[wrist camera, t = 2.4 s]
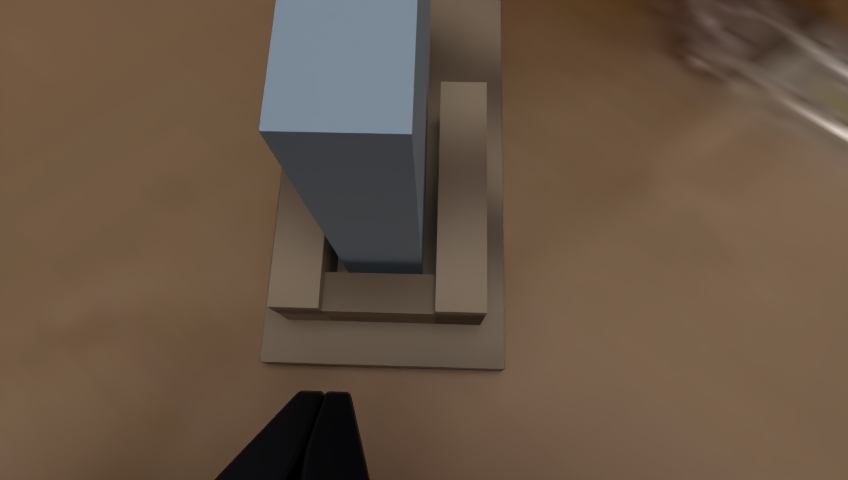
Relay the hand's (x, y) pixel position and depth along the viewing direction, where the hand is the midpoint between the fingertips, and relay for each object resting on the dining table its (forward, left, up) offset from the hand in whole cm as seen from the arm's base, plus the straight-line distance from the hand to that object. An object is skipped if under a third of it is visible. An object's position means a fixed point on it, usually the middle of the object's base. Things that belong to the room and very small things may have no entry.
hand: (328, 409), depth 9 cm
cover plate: (+8, +4, -9) cm, 13 cm away
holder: (+11, +5, -10) cm, 16 cm away
